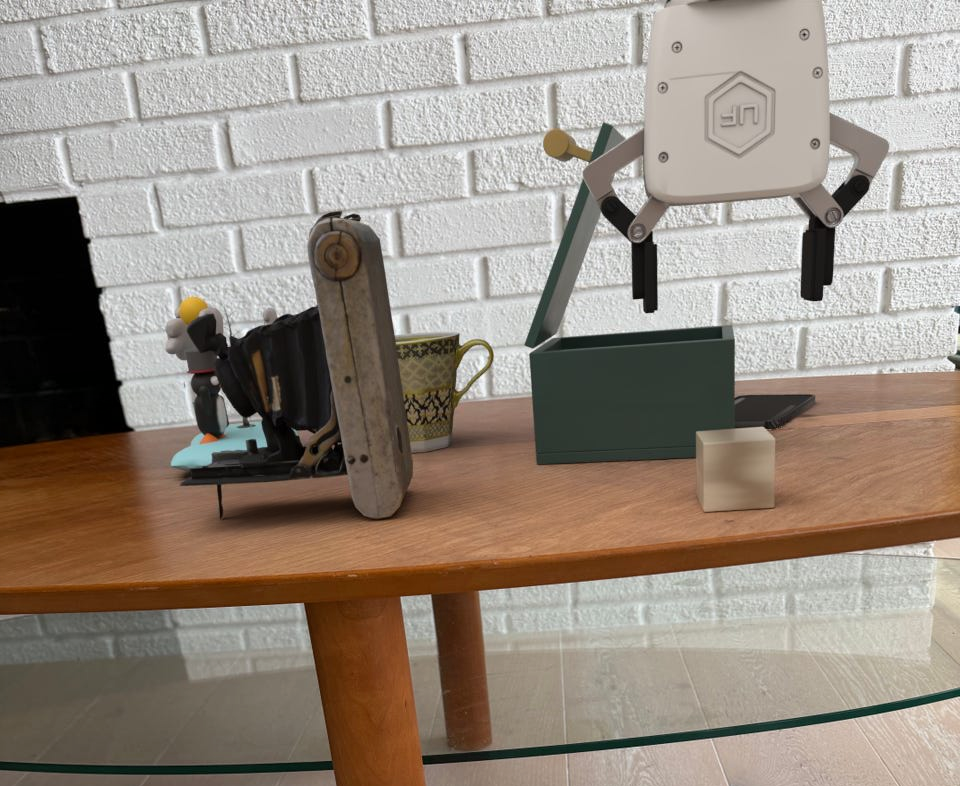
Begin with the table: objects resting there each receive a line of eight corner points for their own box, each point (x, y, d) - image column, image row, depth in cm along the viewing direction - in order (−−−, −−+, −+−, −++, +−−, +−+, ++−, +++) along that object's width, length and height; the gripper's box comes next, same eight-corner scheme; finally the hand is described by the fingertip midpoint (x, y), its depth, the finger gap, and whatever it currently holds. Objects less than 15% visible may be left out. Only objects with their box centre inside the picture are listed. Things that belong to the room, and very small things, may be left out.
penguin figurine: (276, 475, 88) (246, 293, 83) (155, 486, 88) (118, 305, 83) (309, 437, 107) (287, 286, 102) (209, 445, 107) (182, 296, 102)
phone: (691, 421, 92) (740, 394, 103) (691, 433, 92) (740, 405, 104) (778, 421, 88) (819, 393, 100) (778, 434, 88) (818, 405, 100)
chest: (732, 427, 91) (732, 324, 88) (734, 456, 79) (734, 338, 76) (558, 436, 94) (552, 337, 91) (536, 464, 83) (528, 353, 80)
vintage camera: (226, 509, 79) (165, 239, 72) (419, 486, 78) (378, 210, 71) (190, 544, 70) (116, 241, 63) (407, 519, 69) (358, 207, 62)
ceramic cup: (353, 460, 92) (338, 347, 88) (377, 440, 101) (364, 337, 97) (494, 451, 90) (485, 335, 86) (505, 432, 99) (497, 326, 96)
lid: (627, 140, 84) (569, 118, 84) (613, 125, 72) (546, 100, 73) (556, 334, 91) (503, 313, 91) (533, 349, 79) (472, 325, 80)
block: (763, 492, 68) (763, 426, 66) (774, 508, 63) (776, 438, 62) (696, 496, 68) (695, 431, 67) (703, 512, 64) (703, 443, 62)
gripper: (576, -21, 53) (587, 320, 59) (919, -58, 51) (895, 298, 57) (576, 11, 60) (587, 312, 66) (878, -21, 58) (860, 293, 64)
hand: (730, 306), depth 61 cm, fingers open, 9 cm apart
